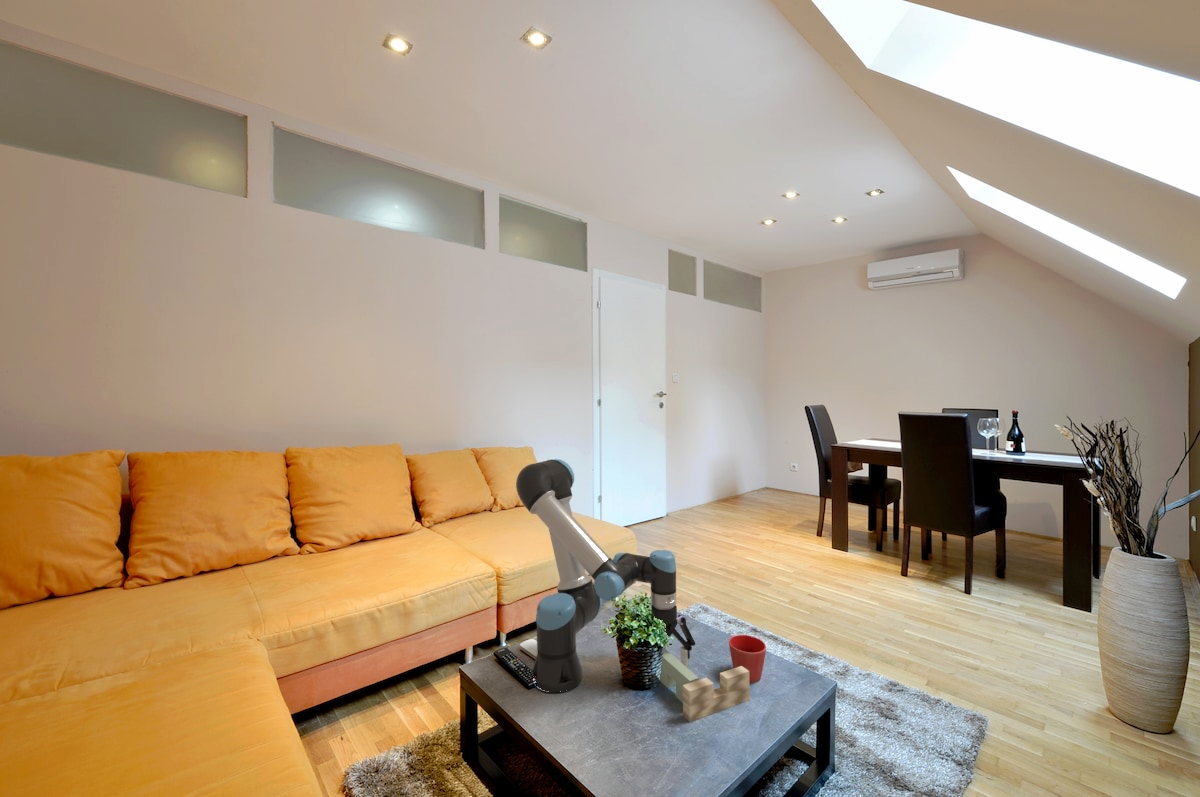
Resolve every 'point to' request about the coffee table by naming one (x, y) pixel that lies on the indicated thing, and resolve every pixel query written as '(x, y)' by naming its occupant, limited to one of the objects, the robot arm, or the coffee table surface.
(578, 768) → the coffee table surface
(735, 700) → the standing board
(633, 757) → the coffee table surface
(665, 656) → the cross piece
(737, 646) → the flower pot
